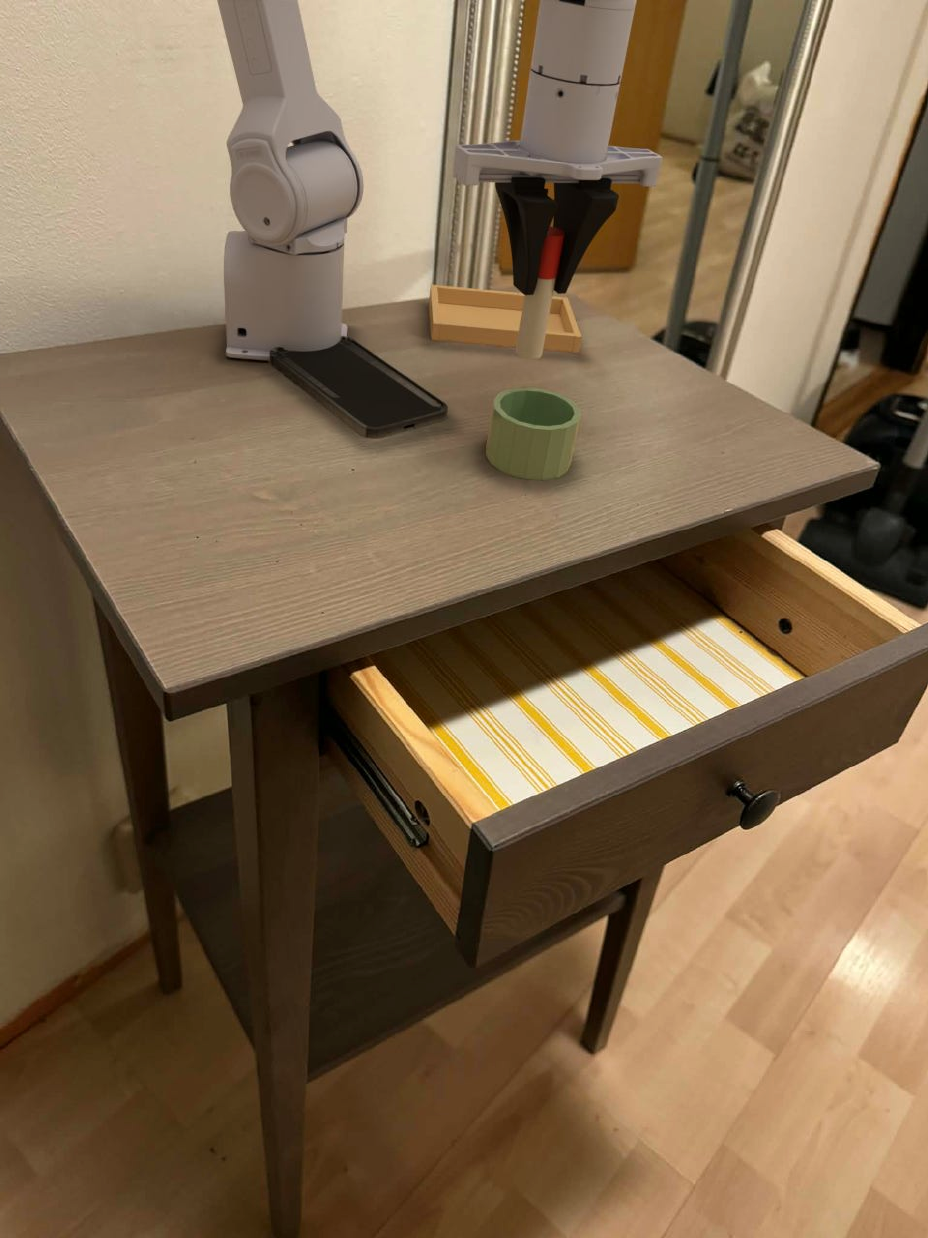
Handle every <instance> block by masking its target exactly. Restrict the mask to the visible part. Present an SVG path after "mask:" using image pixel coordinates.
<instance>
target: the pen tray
mask: <svg viewBox="0 0 928 1238" xmlns="http://www.w3.org/2000/svg"><path fill="white" fill-rule="evenodd" d="M429 288H430V289H429V301H428V312H429V330H430V338H431V341H435V342H437V341H438V342H449V343H459V344H460V343H461V344H471V345H483V346H493V347H494V346H495V347H504V348H515V349H516V346H517V340H518V333H519V327H520V321H521V315H522V308H523V302H524V296H525V295H524V294H523V293H522V292H514V291H513V292H512V291H502V290H493V289H492V290H491V289H484V288H483V289H481V288H473V287H472V288H470V287H461V286H449V285H441V284H430V287H429ZM573 311H574V310H573V309H572V305H571V303H570V300H569V298H568V297H566V296H556V295H553V297H552V302H551V308H550V313H549V319H548V324H547V330H546V335H545V341H544V347H543V351H550V352H562V353H573V354H574V353H575V354H579V351H580V347H581V342H582V334H581V331H580V328H579V326H578V322H577V320H576V317H575V314H574V312H573Z"/></svg>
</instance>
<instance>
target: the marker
mask: <svg viewBox="0 0 928 1238" xmlns="http://www.w3.org/2000/svg"><path fill="white" fill-rule="evenodd" d="M563 240H564V232H563V231H562V230H560V229H558V228H555V227H553V226H550V228H549V231H548V234H547V237H546V240H545V244H544V247H543V252H542V257H541V263H540V270H539V276H538V281H537V285H536V289H535V291H534V294H533V295H525V296H524V302H523V308H522V315H521V321H520V327H519V333H518V340H517V346H516V348H515V354H516V355H517V356H519V357H521V358H524V359H527V360H537V359H541V358H542V356H543V352H544V350H543V347H544V341H545V335H546V330H547V324H548V319H549V313H550V308H551V302H552V297H553V296H554V292H555V291H554V286H555V280H556V277H557V273H558V267H559V262H560V256H561V251H562V245H563Z"/></svg>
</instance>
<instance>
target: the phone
mask: <svg viewBox="0 0 928 1238" xmlns="http://www.w3.org/2000/svg"><path fill="white" fill-rule="evenodd" d="M269 364H270V365H271V366H273V367H274V368H275V369H276V370H278V371H279V372H280V373H282V374H283V375H284V376H285V377H287V378H288V379H289V380H291V381H292V382H293V383H294V384H295V385H296V386H298V387H300V388H301V390H303V391H305V392H306V393H307V394H308V395H309V396H311V398H313V399H314V400H316V401H317V402H318V403H319V404H320V405H322V406H323V407H324V408H326V409H327V410H328V411H329V412H331V413H332V414H334V415H335V416H336V417H337V418H338V419H340V420H341V421H342V422H344V423H345V424H346V425H347V426H349V428H351V429H352V430H354V431H355V432H356V433H357V434H359V435H360V436H362V437H364V438H367V439H371V440H372V439H375V440H377V439H383V438H386V437H390V436H394V435H397V434H401V433H405V432H408V431H412V430H416V429H420V428H424V427H427V426H431V425H433V424H437V423H441V422H444V421H446V420H447V417H448V408H449V407H448V405H447V403H445V402H444V401H442V400H441V399H440V398H438V397H437V396H435V395H434V394H433V393H431V392H430V391H428V390H427V389H425V388H424V387H423V386H421V385H420V384H418V383H416V382H415V381H414V380H412V379H411V378H409V377H408V376H407V375H406V374H404V373H402V372H401V371H399V370H398V369H396V368H395V367H393V365H391V364H389V363H388V362H386V361H385V360H384V359H382V358H380V357H379V356H378V355H376V354H375V353H374V352H372V351H371V350H369V349H367V348H366V347H365V346H363V345H362V344H360V343H359V342H358V341H356V340H355V339H353V338H351V337H349V336H347V337H345V336H341V338H340V341H339V342H338V343H337V344H335V345H334V346H332V347H329V348H327V349H323V350H317V351H305V352H303V351H289V350H284V348H282V347H277V348H274V349H272V350H270V358H269ZM411 425H413V426H411ZM407 426H410V427H407Z"/></svg>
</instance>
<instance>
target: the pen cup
mask: <svg viewBox="0 0 928 1238" xmlns="http://www.w3.org/2000/svg"><path fill="white" fill-rule="evenodd" d="M581 420H582V413H581V410H580V407H579V406H578V405H577V403H575V402H574V401H573V400H572V399H570V398H569V397H567V396H565V395H563V394H561V393H558V392H556V391H551V390H548V389H545V388H539V387H527V386H525V387H524V386H521V387H513V388H508V389H506V390H503V391H501V392H498V393H497V394H496V396H495V397H494V398H493V400H492V404H491V411H490V417H489V424H488V430H487V438H486V445H485V455H486V458H487V461H488V462H489V463H490V464H491V465H492V466H493V467H494V468H495V469H497V470H498V471H499V472H501V473H503V474H506V475H508V476H510V477H513V478H514V477H515V478H517V479H522V480H527V481H528V480H529V481H549V480H553V479H558V478H559V477H562V476H563V475H565V474H566V473H567V472H568V471H569V470H570V467H571V466H572V463H573V456H574V452H575V447H576V443H577V438H578V434H579V429H580V424H581Z"/></svg>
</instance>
